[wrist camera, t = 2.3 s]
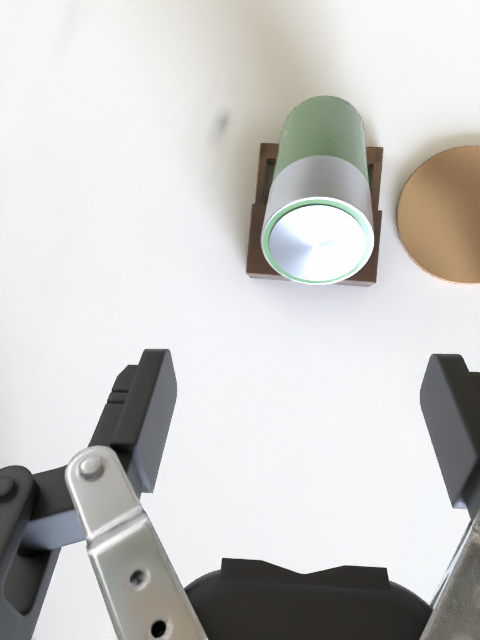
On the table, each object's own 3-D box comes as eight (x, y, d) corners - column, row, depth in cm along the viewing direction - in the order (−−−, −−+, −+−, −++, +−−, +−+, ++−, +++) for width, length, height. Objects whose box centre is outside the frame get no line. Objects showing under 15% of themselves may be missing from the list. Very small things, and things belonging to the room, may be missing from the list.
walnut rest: (369, 286, 32) (376, 282, 30) (249, 277, 33) (245, 273, 31) (380, 152, 32) (388, 136, 30) (261, 148, 34) (258, 131, 31)
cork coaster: (467, 312, 31) (470, 312, 31) (367, 218, 32) (368, 217, 32) (572, 212, 31) (576, 211, 30) (466, 119, 32) (468, 117, 31)
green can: (346, 290, 33) (376, 287, 21) (269, 284, 34) (253, 278, 21) (363, 121, 32) (404, 12, 20) (283, 119, 33) (275, 13, 20)
